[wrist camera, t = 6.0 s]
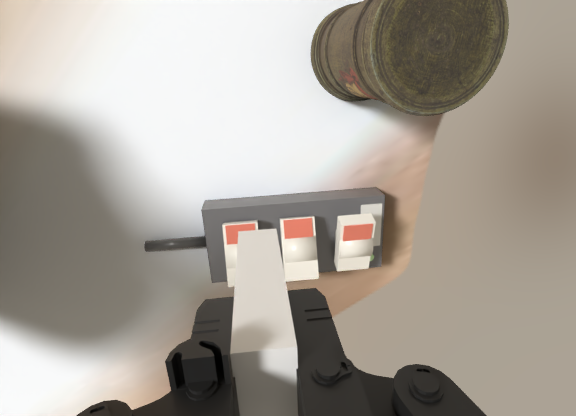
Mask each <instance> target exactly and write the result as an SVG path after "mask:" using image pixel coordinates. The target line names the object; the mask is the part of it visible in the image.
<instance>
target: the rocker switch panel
mask: <svg viewBox="0 0 576 416" xmlns="http://www.w3.org/2000/svg"><path fill="white" fill-rule="evenodd" d="M384 204H385V195H384V194H383V193H382V192H381V191H380V190H378V189H377V188H376V187H373V188H360V189H348V190H335V191H322V192H309V193H296V194H283V195H270V196H258V197H245V198H232V199H219V200H206V201H205V202H204V204H203V207H202V217H203V224H204V230H205V236H201V237H190V238H178V239H166V240H155V241H146V242H145V251H146V252H150V251H161V250H173V249H184V248H196V247H207V251H208V258H209V265H210V272H211V279H212V283H215V282H225V281H227V270H226V259H225V249H224V238H223V227H222V225H223V223H227V222H239V221H251V220H257V221H258V230H263V229H277V235H278V241H279V246H280V252H281V258H282V263H283V257H282V244H281V231H280V219H279V218H291V217H303V216H314V218H315V232H316V245H317V259H318V272H319V273H320V272H330V271H337V269H336V266H335V263H334V256H335V231H336V229H337V217H338V216H343V215H355V214H367V213H371V214H372V216H373V218H374V220H375V222H376V224H375V231H374V237H373V253H372V255H371V256H370V262H369V268H372V267H381V262H382V243H383V223H384Z"/></svg>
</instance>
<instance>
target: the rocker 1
mask: <svg viewBox="0 0 576 416" xmlns="http://www.w3.org/2000/svg"><path fill="white" fill-rule="evenodd" d="M222 227H223V238H224V249H225V259H226V270H227V281H228V287H235V275H236V260H237V245H238V231H251V230H258V221H257V220H251V221H239V222H227V223H223V225H222Z"/></svg>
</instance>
